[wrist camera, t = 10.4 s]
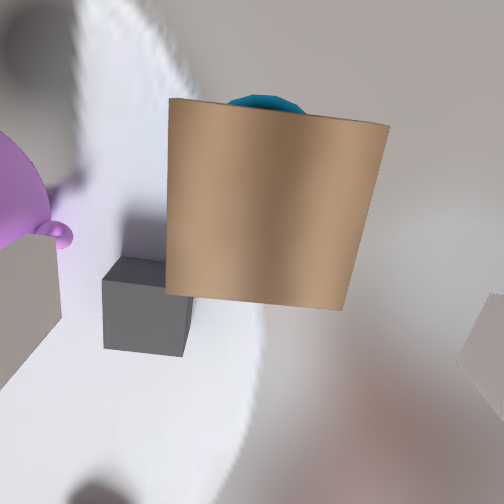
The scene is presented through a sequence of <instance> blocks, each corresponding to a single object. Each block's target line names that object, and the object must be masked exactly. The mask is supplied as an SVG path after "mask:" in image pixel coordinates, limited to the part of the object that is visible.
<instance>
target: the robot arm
mask: <svg viewBox="0 0 504 504" xmlns="http://www.w3.org/2000/svg"><path fill="white" fill-rule="evenodd" d="M61 318H62V314H61V302H60V290H59V278H58V266H57V253H56V241H55V237H52V236H44V235H36V234H29V233H27V234H25V235H24V236H22V237H20V238H19V239H17V240H15V241H14V242H12V243H10V244H9V245H7V246H6V247H4V248H2V249H1V250H0V390H1V389H2V388H3V387H4V386H5V384H6V383H7V382H8V381H9V380H10V378H11V377H12V376H13V375H14V374H15V373H16V371H17V370H18V369H19V368H20V367H21V365H22V364H23V363H24V362H25V361H26V360H27V358H28V357H29V356H30V355H31V354H32V352H33V351H34V350H35V349H36V348H37V347H38V345H39V344H40V343H41V342H42V341H43V339H44V338H45V337H46V336H47V335H48V333H49V332H50V331H51V330H52V329H53V328H54V326H55V325H56V324H57V323H58V322H59V320H60V319H61ZM456 363H457V364H458V366H459V367H460V368H461V369H462V371H463V372H464V373H465V374H466V376H467V377H468V378H469V379H470V381H471V382H472V383H473V385H474V386H475V387H476V388H477V390H478V391H479V392H480V393H481V394H482V396H483V397H484V398H485V400H486V401H487V402H488V403H489V404H490V406H491V407H492V408H493V410H494V411H495V412H496V413H497V414H498V416H499V417H500V418H501V420H502V421H503V422H504V295H499V294H489V296H488V298H487V300H486V302H485V304H484V306H483V308H482V310H481V312H480V314H479V316H478V318H477V321H476V322H475V325H474V327H473V329H472V331H471V333H470V335H469V337H468V339H467V341H466V343H465V345H464V347H463V349H462V351H461V353H460V355H459V357H458V359H457V361H456Z"/></svg>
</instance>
